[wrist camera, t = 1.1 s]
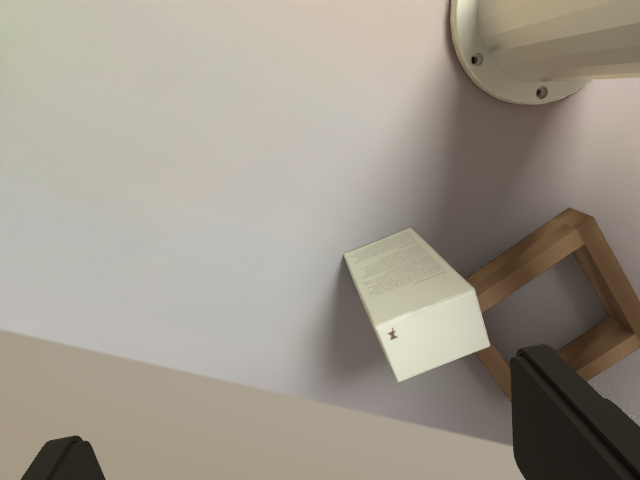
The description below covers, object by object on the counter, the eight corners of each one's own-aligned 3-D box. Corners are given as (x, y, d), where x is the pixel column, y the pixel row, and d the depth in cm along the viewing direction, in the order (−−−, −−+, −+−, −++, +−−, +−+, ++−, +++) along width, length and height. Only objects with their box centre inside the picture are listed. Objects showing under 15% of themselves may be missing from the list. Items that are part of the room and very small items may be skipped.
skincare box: (359, 297, 37) (394, 386, 26) (342, 252, 36) (370, 326, 25) (428, 270, 37) (493, 348, 26) (413, 225, 36) (475, 285, 24)
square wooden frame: (569, 207, 36) (593, 217, 34) (631, 318, 40) (658, 335, 37) (436, 299, 38) (448, 316, 35) (508, 398, 42) (525, 420, 39)
